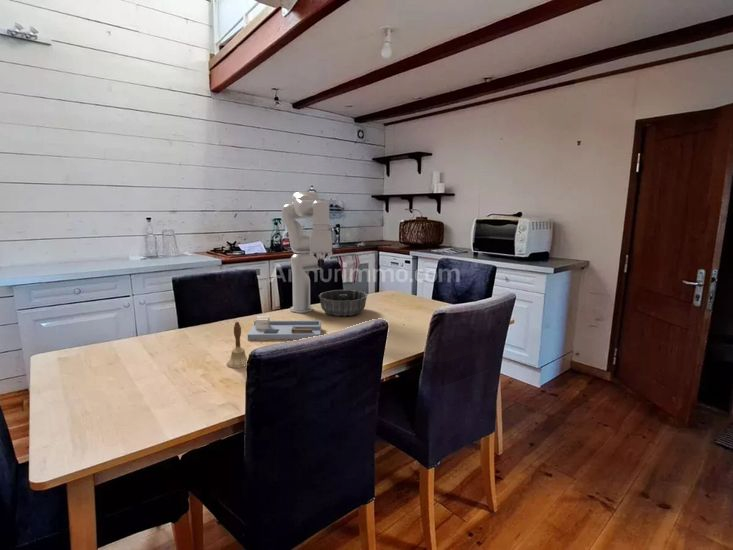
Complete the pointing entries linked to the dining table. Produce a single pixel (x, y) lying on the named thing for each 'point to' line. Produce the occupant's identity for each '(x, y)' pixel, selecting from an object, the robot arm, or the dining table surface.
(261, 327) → the cream block
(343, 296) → the bundt pan
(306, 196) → the robot arm
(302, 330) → the crook tool
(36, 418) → the dining table surface
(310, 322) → the tray
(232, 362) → the hand bell
